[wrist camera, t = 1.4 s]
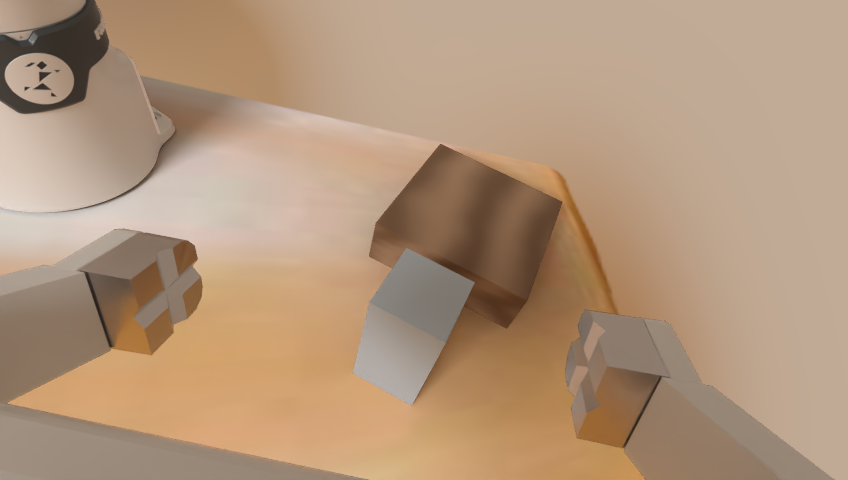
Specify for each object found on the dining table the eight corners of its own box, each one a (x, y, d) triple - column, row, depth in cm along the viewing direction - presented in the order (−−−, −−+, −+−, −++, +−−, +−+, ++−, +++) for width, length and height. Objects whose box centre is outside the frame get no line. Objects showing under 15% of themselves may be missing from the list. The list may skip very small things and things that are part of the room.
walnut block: (368, 258, 41) (375, 222, 37) (429, 178, 50) (440, 143, 46) (505, 330, 39) (527, 300, 35) (542, 233, 48) (562, 201, 44)
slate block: (411, 405, 32) (445, 343, 25) (352, 373, 33) (369, 302, 25) (437, 351, 36) (474, 282, 28) (383, 323, 36) (406, 247, 29)
